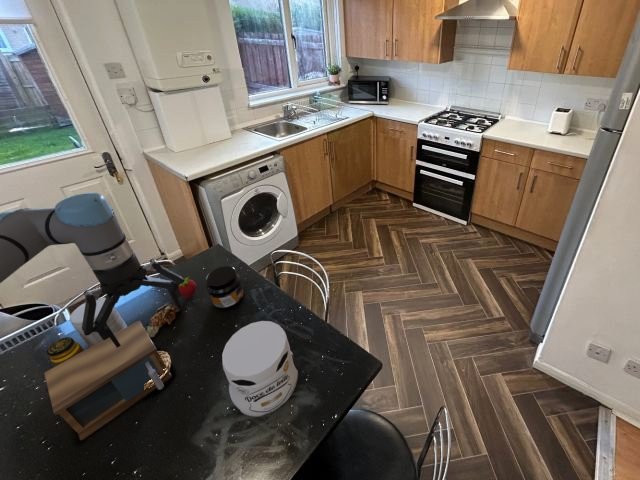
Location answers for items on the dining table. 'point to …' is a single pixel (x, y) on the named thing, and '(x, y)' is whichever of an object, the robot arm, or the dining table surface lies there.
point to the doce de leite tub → (259, 368)
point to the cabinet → (99, 380)
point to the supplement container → (224, 287)
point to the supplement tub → (77, 316)
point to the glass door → (139, 377)
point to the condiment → (63, 350)
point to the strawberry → (187, 288)
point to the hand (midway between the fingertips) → (149, 324)
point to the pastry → (161, 318)
